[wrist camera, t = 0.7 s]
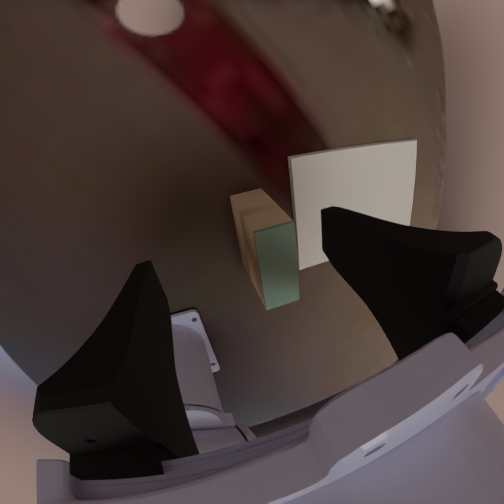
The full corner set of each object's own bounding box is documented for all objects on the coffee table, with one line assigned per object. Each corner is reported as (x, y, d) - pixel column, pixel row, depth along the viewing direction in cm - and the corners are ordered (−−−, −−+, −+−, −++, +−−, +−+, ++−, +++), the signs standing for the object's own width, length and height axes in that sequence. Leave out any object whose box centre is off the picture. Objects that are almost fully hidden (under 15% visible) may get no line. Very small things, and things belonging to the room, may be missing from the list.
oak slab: (269, 254, 25) (299, 299, 20) (242, 262, 24) (266, 310, 19) (260, 188, 21) (294, 222, 16) (229, 195, 21) (254, 233, 16)
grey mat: (404, 230, 28) (408, 233, 28) (296, 266, 26) (299, 270, 26) (412, 138, 23) (416, 140, 22) (287, 156, 21) (290, 158, 20)
